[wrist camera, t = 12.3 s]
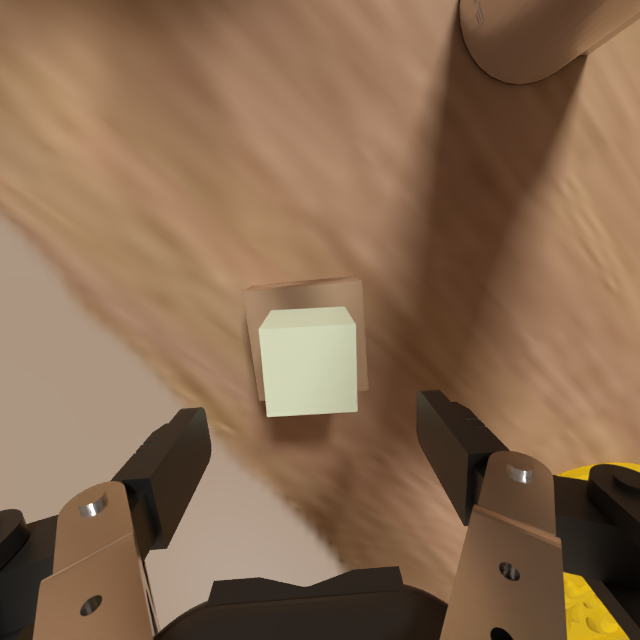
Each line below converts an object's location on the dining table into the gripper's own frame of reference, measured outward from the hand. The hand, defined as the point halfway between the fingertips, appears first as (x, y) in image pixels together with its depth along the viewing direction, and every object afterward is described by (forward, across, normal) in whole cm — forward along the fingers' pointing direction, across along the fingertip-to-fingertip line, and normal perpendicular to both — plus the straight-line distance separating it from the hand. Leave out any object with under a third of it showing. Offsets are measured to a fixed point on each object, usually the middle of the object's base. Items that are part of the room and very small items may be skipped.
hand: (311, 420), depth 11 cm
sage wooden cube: (+10, 0, 0) cm, 10 cm away
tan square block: (+14, 0, 0) cm, 14 cm away
